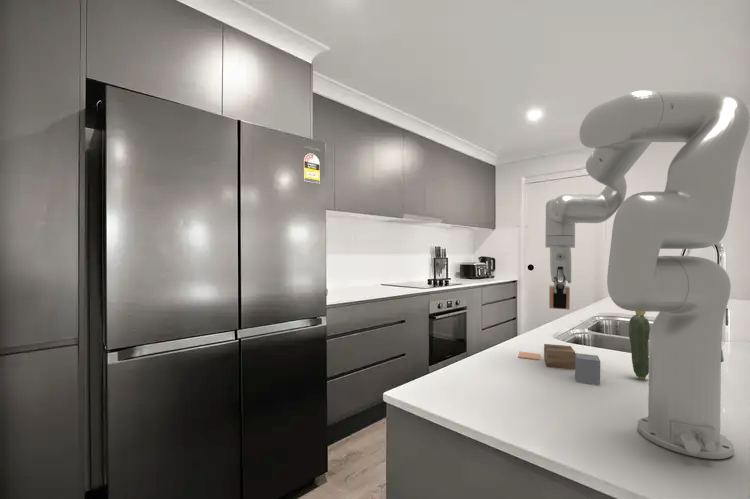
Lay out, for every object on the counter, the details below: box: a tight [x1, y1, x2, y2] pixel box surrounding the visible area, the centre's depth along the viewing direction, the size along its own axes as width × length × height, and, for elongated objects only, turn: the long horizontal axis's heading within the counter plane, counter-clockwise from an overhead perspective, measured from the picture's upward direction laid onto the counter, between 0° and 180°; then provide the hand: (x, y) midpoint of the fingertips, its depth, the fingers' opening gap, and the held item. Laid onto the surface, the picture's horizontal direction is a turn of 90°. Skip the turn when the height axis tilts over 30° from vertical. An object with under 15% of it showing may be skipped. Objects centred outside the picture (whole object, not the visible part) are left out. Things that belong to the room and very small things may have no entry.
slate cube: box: [574, 352, 601, 386], centre depth 92 cm, size 5×5×6 cm
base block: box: [543, 343, 576, 371], centre depth 104 cm, size 7×7×5 cm
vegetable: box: [628, 311, 651, 379], centre depth 93 cm, size 4×4×20 cm
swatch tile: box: [517, 351, 541, 361], centre depth 112 cm, size 6×6×1 cm
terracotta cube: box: [548, 284, 571, 310], centre depth 105 cm, size 5×5×6 cm
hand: (559, 305), depth 105 cm, fingers closed on terracotta cube, 5 cm apart
